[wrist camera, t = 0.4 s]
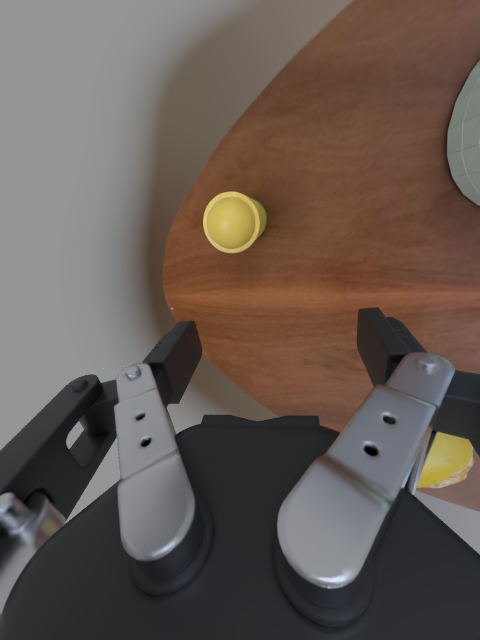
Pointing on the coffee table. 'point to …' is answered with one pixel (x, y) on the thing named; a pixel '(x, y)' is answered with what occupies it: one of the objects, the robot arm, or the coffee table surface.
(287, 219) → the coffee table surface
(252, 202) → the corn cob
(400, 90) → the coffee table surface
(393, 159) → the coffee table surface
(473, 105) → the basin
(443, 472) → the fruit
